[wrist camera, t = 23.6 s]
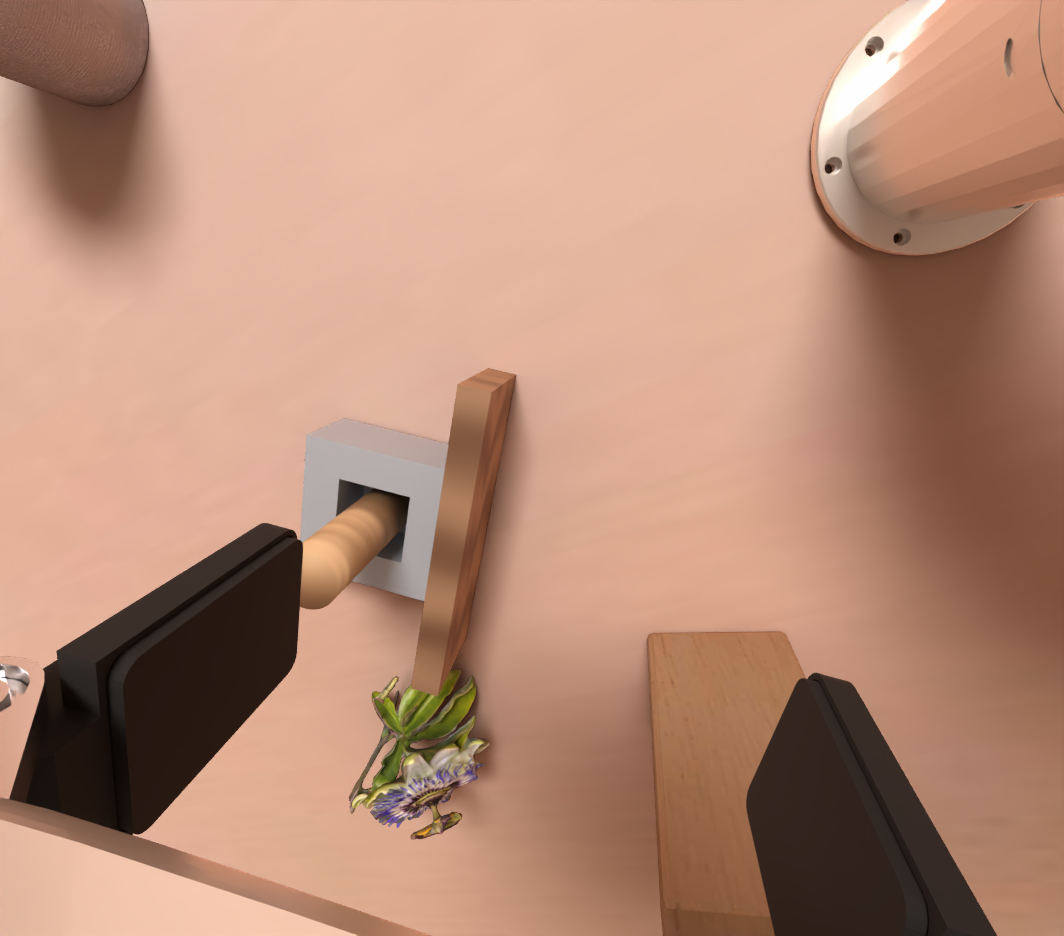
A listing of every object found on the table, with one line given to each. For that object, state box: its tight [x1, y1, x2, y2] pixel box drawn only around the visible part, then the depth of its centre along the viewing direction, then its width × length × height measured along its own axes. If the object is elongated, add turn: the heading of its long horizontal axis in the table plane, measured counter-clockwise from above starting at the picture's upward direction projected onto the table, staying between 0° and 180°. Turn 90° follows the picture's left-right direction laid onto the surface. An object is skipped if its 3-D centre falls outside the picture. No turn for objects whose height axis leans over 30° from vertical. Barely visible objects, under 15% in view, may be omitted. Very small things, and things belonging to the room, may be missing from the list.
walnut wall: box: [411, 368, 516, 696], centre depth 38 cm, size 22×2×7 cm, turn 168°
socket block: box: [300, 418, 449, 601], centre depth 39 cm, size 10×10×5 cm
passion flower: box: [349, 670, 489, 840], centre depth 44 cm, size 11×11×12 cm
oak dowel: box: [300, 488, 410, 609], centre depth 35 cm, size 4×4×12 cm
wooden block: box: [647, 632, 806, 936], centre depth 32 cm, size 10×10×20 cm
